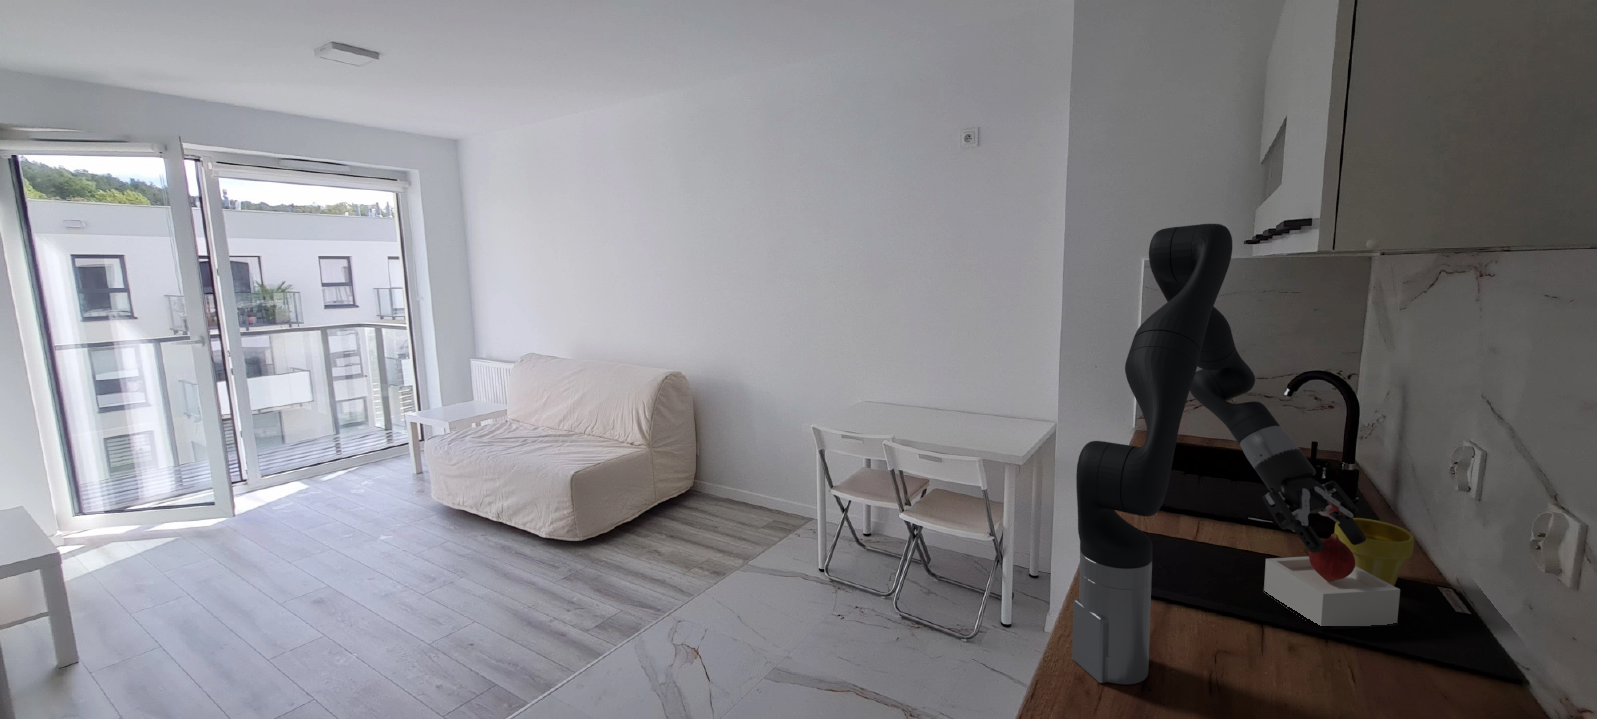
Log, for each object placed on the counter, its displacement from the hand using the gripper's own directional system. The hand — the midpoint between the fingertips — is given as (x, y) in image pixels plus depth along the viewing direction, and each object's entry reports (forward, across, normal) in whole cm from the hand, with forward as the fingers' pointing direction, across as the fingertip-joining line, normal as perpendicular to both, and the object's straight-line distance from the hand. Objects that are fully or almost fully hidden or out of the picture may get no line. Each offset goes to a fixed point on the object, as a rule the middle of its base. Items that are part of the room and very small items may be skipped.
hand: (1340, 546), depth 103 cm
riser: (+7, 0, +9) cm, 12 cm away
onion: (+4, 0, +6) cm, 7 cm away
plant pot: (+4, +15, +12) cm, 20 cm away
